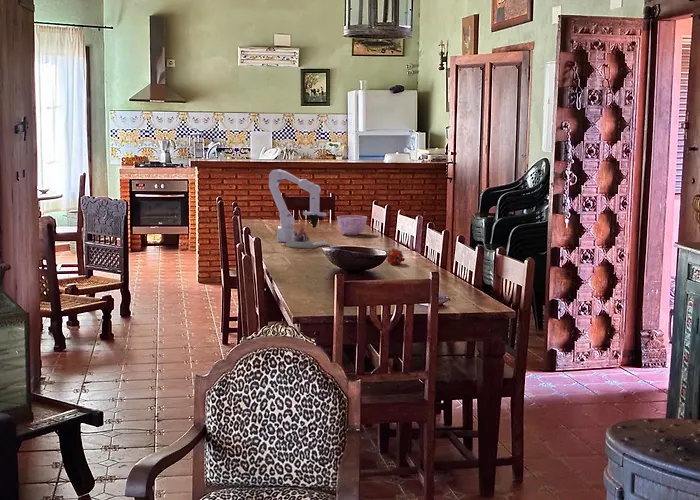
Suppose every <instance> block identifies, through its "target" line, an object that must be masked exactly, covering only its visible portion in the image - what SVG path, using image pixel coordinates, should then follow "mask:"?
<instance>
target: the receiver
mask: <svg viewBox="0 0 700 500" xmlns="http://www.w3.org/2000/svg"><path fill="white" fill-rule="evenodd" d="M285 244H286V246H285V247H286V248H296V249H297V248H298V249H314V248H317V247H321V246H327V245H328V242H327V240H325V239H324V240H319V241H315V242H312V241H310V242H302V241H286V242H285Z"/></svg>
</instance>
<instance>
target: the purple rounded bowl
mask: <svg viewBox="0 0 700 500" xmlns="http://www.w3.org/2000/svg"><path fill="white" fill-rule="evenodd" d="M336 220H337V224H338V227H339V228H338V229H339V231H340V232H341V233H343V234H345V235H346V236H357V235H359V234H362V233H363V232H364V230H365V228H366V225H367V221H368V216H367V215H366V216H365V215H356V214H355V215H354V214H347V215H338V216H336Z"/></svg>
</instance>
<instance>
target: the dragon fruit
mask: <svg viewBox="0 0 700 500" xmlns="http://www.w3.org/2000/svg"><path fill="white" fill-rule="evenodd" d="M386 258H387V263H388V264H389V263H390V264H391V265H393V266H395V265H400V264H402V262H405V259H406V258H405V257H404V255H403V252H402V251H401V250H399V249H397V248H391V249H390V250H389V251H387V257H386Z"/></svg>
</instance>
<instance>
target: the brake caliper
mask: <svg viewBox="0 0 700 500" xmlns="http://www.w3.org/2000/svg"><path fill="white" fill-rule="evenodd" d="M292 241H302V242H311V240H310V237H309V236H308V234H307V233H306V231H305V229H304V228H303V226H301V227H300V230H299V231H297V230H296V229H295V230H294V229H293V240H292Z"/></svg>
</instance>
